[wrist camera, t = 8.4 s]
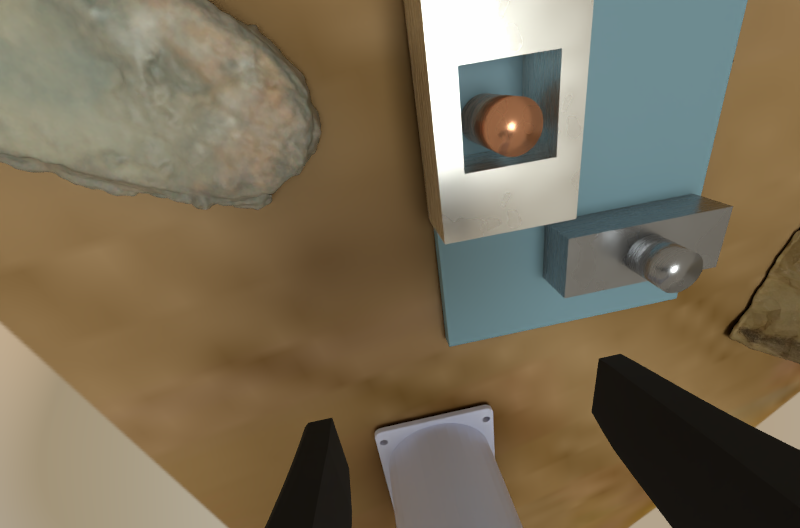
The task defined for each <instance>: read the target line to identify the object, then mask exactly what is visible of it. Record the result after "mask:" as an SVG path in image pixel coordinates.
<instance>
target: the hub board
mask: <svg viewBox="0 0 800 528" xmlns="http://www.w3.org/2000/svg"><path fill="white" fill-rule="evenodd" d="M746 4H747V0H594V5H593V18H592V30H591V43H590V55H589V68H588V80H587V93H586V105H585V118H584V130H583V142H582V155H581V167H580V180H579V192H578V205H577V216H581V215H586V214H591V213H596V212H601V211H606V210H611V209H616V208H621V207H627V206H632V205H637V204H642V203H647V202H652V201H657V200H662V199H668V198H673V197H678V196H683V195H688V194H696V195H699V196H701V193H702V188H703V184H704V180H705V176H706V172H707V167H708V163H709V159H710V155H711V151H712V146H713V142H714V138H715V134H716V130H717V126H718V121H719V117H720V113H721V109H722V105H723V100H724V96H725V92H726V88H727V84H728V79H729V75H730V71H731V67H732V63H733V59H734V54H735V50H736V46H737V42H738V38H739V33H740V29H741V25H742V21H743V17H744V12H745V8H746ZM522 75H523V55H518V56H512V57H506V58H500V59H494V60H488V61H482V62H475V63H469V64H463V65H458V81H459V96H460V112H462V110H463V108H464V106H465V104H466V103H467V102H468V101H469V100H470V99H471V98H473V97H474V96H476V95H479V94H484V93H486V94H499V95H512V96H522ZM462 142H463V156H465V155H470V154H476V153H481V152H487V151H492V150H490V149H487V148H485V147H483V146H481V145H479V144H476V143H474V142H472V141H470V140H469V139H467V138H466V137H465V135H464V134H463V132H462ZM544 228H545V225H542V226H537V227H532V228H527V229H522V230H517V231H512V232H507V233H501V234H496V235H491V236H486V237H481V238H476V239H471V240H466V241H461V242H455V243H450V244H444V242H443V241H442V239H441V238H440V236H439V235H438V233H437V231H436V230H435V228H434V236H435V245H436V254H437V263H438V271H439V280H440V289H441V298H442V307H443V316H444V325H445V334H446V340H447V342H448V344H449V347H451V346H455V345H460V344H465V343H470V342H474V341H479V340H484V339H488V338H493V337H498V336H502V335H507V334H512V333H516V332H521V331H526V330H530V329H535V328H540V327H544V326H549V325H554V324H558V323H563V322H568V321H573V320H577V319H582V318H587V317H591V316H596V315H601V314H605V313H610V312H615V311H619V310H624V309H629V308H633V307H638V306H643V305H647V304H652V303H657V302H661V301H666V300H671V299H676V297H677V293H678V292H677V293H667V292H664V291H663V290H661V289H660V288H658V287H656V286H655V285H653V284H652V283H650V282H649V281H645V282H641V283H636V284H631V285H626V286H621V287H617V288H612V289H607V290H602V291H598V292H593V293H588V294H583V295H579V296H574V297H569V298H564V297H562V296H561V295H560V294H559V293H558V292H557V291H556V290H555V289H554V288H553V287H552V286H551V285H550V284H549V283H548V282H547V281H546V280H545V279H544V278H543V254H544Z"/></svg>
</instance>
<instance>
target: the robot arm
mask: <svg viewBox="0 0 800 528" xmlns="http://www.w3.org/2000/svg"><path fill="white" fill-rule="evenodd" d="M592 413H593V415H594V417H595V419H596V420H597V422H598V424H599V426H600V427H601V429H602V431H603V433H604V434H605V436H606V438H607V439H608V441H609V442H610V444H611V446H612V447H613V449H614V450H615V452H616V453H617V455H618V456H619V457H620V459H621V460H622V461H623V463H624V464H625V465H626V467H627V468H628V469H629V471H630V472H631V474H632V475H633V476H634V478H635V479H636V480H637V482H638V483H639V484H640V486H641V487H642V488H643V489H644V491H645V492H646V493H647V495H648V496H649V497H650V499H651V500H652V501H653V503H654V504H655V505H656V507H657V508H658V509H659V511H660V512H661V513H662V515H663V516H664V517H665V518H666V520H667V521H668V523H669V524H670V525H671V526H672V528H800V450H798V449H796V448H794V447H792V446H790V445H788V444H786V443H784V442H782V441H780V440H778V439H776V438H774V437H772V436H770V435H768V434H766V433H764V432H762V431H760V430H758V429H756V428H754V427H752V426H750V425H748V424H746V423H745V422H743V421H741V420H739V419H737V418H735V417H733V416H731V415H729V414H728V413H726V412H724V411H722V410H720V409H718V408H716V407H715V406H713V405H711V404H709V403H707V402H705V401H704V400H702V399H700V398H698V397H696V396H695V395H693V394H691V393H689V392H688V391H686V390H684V389H682V388H680V387H679V386H677V385H675V384H673V383H672V382H670V381H668V380H666V379H665V378H663V377H661V376H659V375H658V374H656V373H654V372H652V371H651V370H649V369H647V368H645V367H644V366H642V365H640V364H638V363H636V362H635V361H633V360H631V359H629V358H627V357H625V356H624V355H622V354H618V355H613V356H609V357H604V358H600V359H599V362H598V369H597V377H596V384H595V391H594V399H593V406H592ZM375 440H376V444H377V448H378V452H379V455H380V459H381V463H382V467H383V470H384V474H385V478H386V482H387V485H388V489H389V493H390V497H391V500H392V504H393V508H394V512H395V519H396V527H397V528H523V526H522V524H521V521H520V519H519V517H518V514H517V512H516V509H515V507H514V504H513V502H512V499H511V497H510V495H509V492H508V490H507V487H506V485H505V482H504V480H503V477H502V475H501V473H500V470H499V468H498V465H497V463H496V460H495V449H494V425H493V411H492V408H491V406H489V405H481V406H476V407H472V408H467V409H463V410H459V411H454V412H450V413H445V414H441V415H436V416H432V417H427V418H423V419H419V420H414V421H410V422H405V423H401V424H396V425H392V426H387V427H383V428H379V429H378V430H376V431H375ZM351 527H352V506H351V491H350V477H349V467H348V464H347V461H346V458H345V455H344V452H343V449H342V446H341V443H340V440H339V437H338V434H337V431H336V428H335V425H334V422H333V419H332V418H329V419H324V420H319V421H315V422H310V423H308V424H307V425H306V427H305V429H304V432H303V435H302V438H301V441H300V444H299V446H298V449H297V452H296V455H295V457H294V460H293V462H292V465H291V468H290V470H289V473H288V475H287V478H286V480H285V483H284V485H283V487H282V490H281V492H280V494H279V497H278V499H277V501H276V504H275V506H274V508H273V510H272V513H271V515H270V517H269V520H268V522H267V524H266V526H265V528H351Z"/></svg>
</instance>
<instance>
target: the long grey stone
mask: <svg viewBox="0 0 800 528" xmlns="http://www.w3.org/2000/svg"><path fill="white" fill-rule="evenodd" d="M320 127H321V123H320V120H319V113H318V111H317V110H316V109H315V108H314V106H313V105H312V103H311V101H310V92H309V89H308V86H307V84H306V82H305V77H304V75H303V74H302V73H301V72H300V71H299V70H298V69H297V68H296V67H295V66H294V65H293V64H291V63H290V62H289V61H288V60H287V59H286V58H285V57H284V56H283V55H282V53H281V51H280V50H279V49H278V48H277V47H276V46H275V45H274V44H273V43H272V42H271V41H270V40H269V39H268V38H266V37H265V36H263V35H262V34H261V33H260V32H259V29H258V27H257V26H256V25H246V24H244V23H242V22H241V21H239V20H236V19H235V18H234V17H232V16H231V15H229V14H227V13H224V12H222V11H221V10H219V9H218V8H217V7H216V6H215V5H214V4H213V3H211V2H210V1H208V0H0V162H2V163H6V164H8V165H10V166H12V167H14V168H16V169H19V170H24V171H28V172H53V173H56V174H57V175H58V176H59V177H61V178H64V179H66V180H68V181H70V182H72V183H73V184H76V185H82V186H84V187H87V188H90V189H99V190H103V191H106V192H107V193H109V194H112V195H115V196H123V195H127V196H135V195H137V194H138V193H147V194H150V195H152V196H156V197H158V198H169V199H170V200H173V201H176V202H183V203H187V204H192V205H193V206H195V207H196V208H198V209H206V210H207V209H209V208H210V207H211V206H212V205H215V204H219V205H223V206H228V205H229V206H234V207H237V208H253V209H256V210H259V209H261V208H263V207H264V206H266V205H268V204H269V203H271V202H272V198H271V197H272V195H270V194H273V193H275V192H276V191H277V190H278V188H279V187H280V186H281V185H282V184H283V183H284V182H285V181H286V180H288V179H289V178H291V177H293V176H296V175H299V174H300V173H301V171H302V169H303V167H304V166H305V164H306V162H307V161H308V160H309V159H310V157H311V155H312V154H314V153H315V152H316V150H317V145H318V143H319V137H320V135H321V130H320Z"/></svg>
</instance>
